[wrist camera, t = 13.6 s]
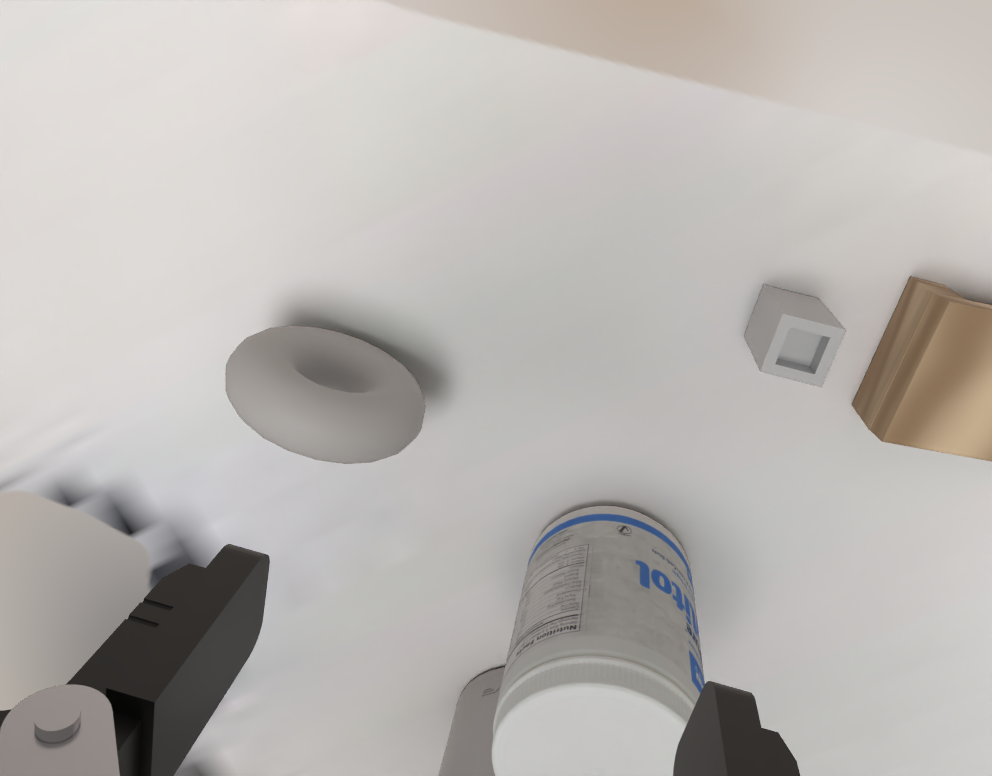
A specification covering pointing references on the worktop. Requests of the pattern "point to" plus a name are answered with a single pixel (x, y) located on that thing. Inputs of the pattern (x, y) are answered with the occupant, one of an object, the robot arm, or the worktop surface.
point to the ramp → (932, 374)
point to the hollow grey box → (793, 336)
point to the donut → (324, 394)
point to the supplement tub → (600, 651)
